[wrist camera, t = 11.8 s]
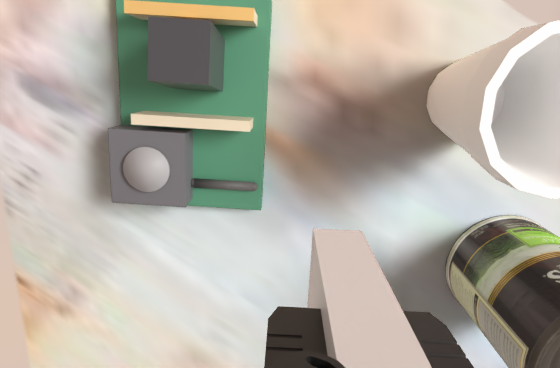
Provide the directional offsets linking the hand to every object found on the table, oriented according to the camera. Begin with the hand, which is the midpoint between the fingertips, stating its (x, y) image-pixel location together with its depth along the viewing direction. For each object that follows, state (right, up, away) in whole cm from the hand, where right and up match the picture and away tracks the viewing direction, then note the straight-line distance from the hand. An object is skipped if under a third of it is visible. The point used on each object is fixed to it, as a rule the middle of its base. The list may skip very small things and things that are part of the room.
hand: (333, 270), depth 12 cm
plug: (-8, +12, +19) cm, 24 cm away
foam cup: (+14, +10, +21) cm, 27 cm away
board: (-9, +9, +21) cm, 25 cm away
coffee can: (+19, -5, +25) cm, 32 cm away
